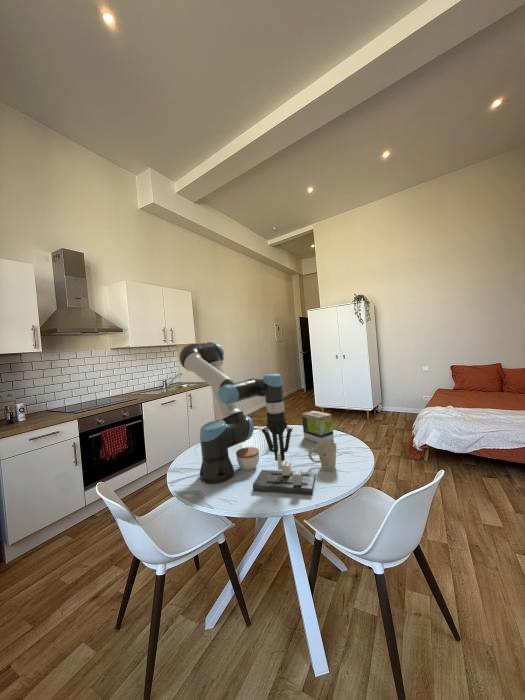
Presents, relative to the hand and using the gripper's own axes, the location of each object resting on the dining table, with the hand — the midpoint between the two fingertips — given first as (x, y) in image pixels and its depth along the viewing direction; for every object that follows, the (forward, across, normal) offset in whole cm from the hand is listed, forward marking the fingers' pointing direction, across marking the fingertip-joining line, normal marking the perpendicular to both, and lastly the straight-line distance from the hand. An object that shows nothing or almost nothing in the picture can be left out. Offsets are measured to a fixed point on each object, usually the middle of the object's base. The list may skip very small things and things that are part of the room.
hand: (280, 468), depth 116 cm
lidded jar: (+5, -18, +10) cm, 21 cm away
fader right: (+2, +8, -7) cm, 11 cm away
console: (+5, +2, -3) cm, 6 cm away
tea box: (+5, +11, +49) cm, 51 cm away
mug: (+5, +16, +14) cm, 22 cm away
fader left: (+2, +2, 0) cm, 3 cm away
